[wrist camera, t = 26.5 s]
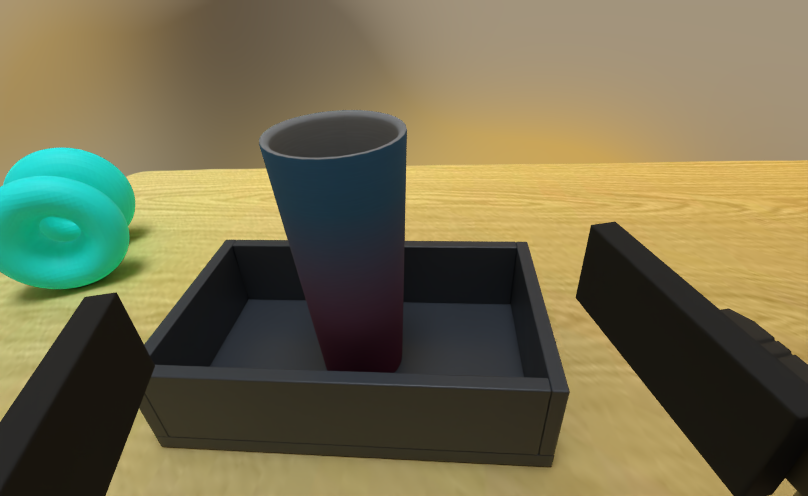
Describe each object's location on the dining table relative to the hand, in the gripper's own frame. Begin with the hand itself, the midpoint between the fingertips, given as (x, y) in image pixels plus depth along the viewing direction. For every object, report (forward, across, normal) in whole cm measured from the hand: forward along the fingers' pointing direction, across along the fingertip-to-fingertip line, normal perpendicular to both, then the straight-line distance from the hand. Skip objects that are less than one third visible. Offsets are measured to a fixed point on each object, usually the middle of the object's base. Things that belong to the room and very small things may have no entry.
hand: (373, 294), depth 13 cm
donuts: (+29, -25, -15) cm, 41 cm away
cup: (+10, -1, -14) cm, 17 cm away
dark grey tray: (+10, 0, -14) cm, 18 cm away
